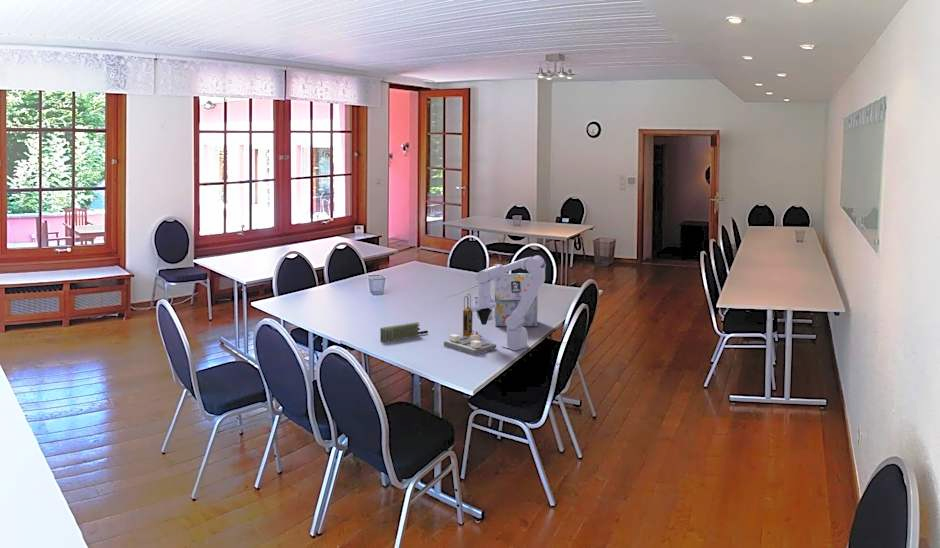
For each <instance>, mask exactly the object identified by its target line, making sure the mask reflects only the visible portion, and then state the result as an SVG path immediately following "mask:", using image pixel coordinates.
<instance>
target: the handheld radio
mask: <svg viewBox="0 0 940 548" xmlns="http://www.w3.org/2000/svg"><path fill="white" fill-rule="evenodd" d="M379 329H380V333H379V334H380V336H379V337H380V340H381V341H380V342H382V341H384V342H388V341H387V340H390V341H393V340H392V339H396V340H401V339H400V338H402V339H407V338H406V337H409V338H414V337H413V336H415V337H418V336H419V335H424V334H428V333H429V331H428V330H422V331H421V329H420V322H419V321H417V322H416V321H415V322H410V323H404V324H398V325H397V324H396V325H391V326H390V325H389V326H384V327H380V328H379Z"/></svg>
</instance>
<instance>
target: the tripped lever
mask: <svg viewBox="0 0 940 548" xmlns="http://www.w3.org/2000/svg"><path fill="white" fill-rule="evenodd" d="M479 335H480V334H478V335H476V333H475V334H473V333H472V334H470V335H469V337H470V341H474V340H477V341H480V340H481V338H480V337H481V336H479Z"/></svg>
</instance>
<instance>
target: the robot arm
mask: <svg viewBox="0 0 940 548" xmlns="http://www.w3.org/2000/svg"><path fill="white" fill-rule="evenodd" d="M546 266H547V264H546V261H545V259H544V258H543V257H542V256H541V255H538V254H537V255H534V256H529V257H523V258H521V259H518V260H516V261H513V262H511V263H508V264H505V265H503V264H499V263H496V264H494V265H493V266H491V267H486V268H485V269H483V270H480V271H478V272H477V274H476V275H475V277H476V280H477V282H478V283H477V284H478V285H477V303H476V305H474V306H471V311H473V313H475V312H476V313H477V314H478V316H479V319H480V324H481V325H483V326H486V325H487V323H488V320H489V318H490V317H489V316H490V314H491V313H492V309H491V308H495V307H496V303H494V301H493V302H491V281H494V279H497V278H500V277H503V276H505V274H507V273H509V272H511V271H515V270H517V269H522V270H526V271H527V273H528V274H530V275H531V277H532V282H531V284H530V285H529V287H528V289H527V290H526V292H525V294H524V296H523V297H522V299H521V301H520V302H519V304H518V306H517V308H516V309H515V310H514V312H513V313H512V314H511V316H509V317H508V318H507V319H506V321H505V324H506V326H505V327H506V345H505V344H504V345H503V346H502V347H503V348H505V349H508V348H509V350H511V351H518V350H522V349H525V348H528V347H529V346H530V345H528V330H527V329H526V327H525V326H522V324H523V323H524V320H525V315H526V312H527V310H528V308H529V307H530V305H531V303H532V302H533V300H534V298H535V296H536V295H537V293H538V294H539V291H541V289H542V286H543V285H544V283H545V281H546Z"/></svg>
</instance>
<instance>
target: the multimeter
mask: <svg viewBox="0 0 940 548" xmlns="http://www.w3.org/2000/svg"><path fill="white" fill-rule="evenodd" d="M469 296H470V297H469ZM469 298H470V300H469ZM465 299H467V300H466V301H467V304H465V303H466V302H465ZM471 299H472V295H471V294H470V293H467V296H466V295H465V296H464V298H463V310H462V337H464V336H468V337H470V336H471V335H472V334H473V313H474V312H473V311H471V307H472V305H471V304H472V303H471V302H472V300H471ZM465 305H466V307H465ZM471 333H472V334H471ZM475 335H479V336H480V337H482V338H484V337H483V335H480V334H478V331H476V332H475Z"/></svg>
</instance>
